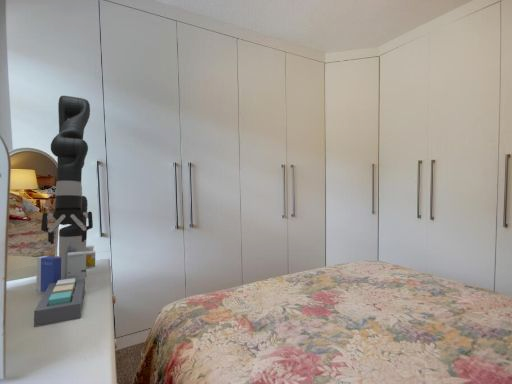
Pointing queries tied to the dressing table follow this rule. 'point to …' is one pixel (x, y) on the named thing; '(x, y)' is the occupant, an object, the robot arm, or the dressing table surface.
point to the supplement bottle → (90, 256)
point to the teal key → (60, 298)
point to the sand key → (64, 289)
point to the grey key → (66, 282)
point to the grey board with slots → (59, 306)
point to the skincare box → (76, 265)
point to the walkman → (47, 271)
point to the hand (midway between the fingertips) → (67, 242)
